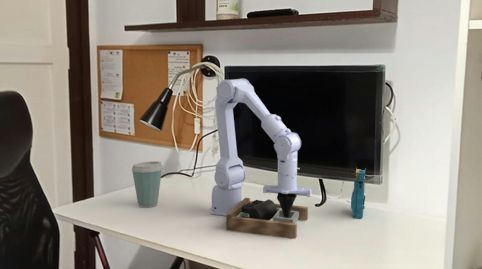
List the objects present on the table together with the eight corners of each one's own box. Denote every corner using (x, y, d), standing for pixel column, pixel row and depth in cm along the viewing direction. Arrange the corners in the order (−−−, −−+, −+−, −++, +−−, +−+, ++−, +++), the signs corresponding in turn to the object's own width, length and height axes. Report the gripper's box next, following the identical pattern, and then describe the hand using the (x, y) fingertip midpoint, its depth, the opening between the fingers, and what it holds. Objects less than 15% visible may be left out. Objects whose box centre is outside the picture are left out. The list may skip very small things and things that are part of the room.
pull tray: (234, 227, 152) (234, 216, 152) (249, 213, 166) (249, 203, 165) (290, 234, 147) (290, 223, 146) (300, 219, 160) (301, 208, 160)
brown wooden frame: (226, 230, 151) (226, 214, 150) (245, 212, 168) (245, 197, 167) (295, 238, 145) (295, 221, 144) (307, 218, 161) (308, 203, 161)
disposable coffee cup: (127, 208, 172) (126, 165, 169) (139, 199, 182) (137, 158, 180) (158, 210, 170) (156, 166, 168) (167, 201, 181) (166, 159, 178)
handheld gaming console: (363, 219, 161) (365, 173, 159) (350, 218, 162) (352, 172, 160) (364, 210, 170) (366, 166, 168) (352, 209, 171) (353, 165, 169)
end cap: (260, 230, 151) (260, 208, 150) (240, 226, 155) (240, 204, 154) (277, 221, 160) (277, 200, 158) (258, 217, 163) (258, 197, 162)
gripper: (260, 174, 150) (260, 218, 153) (308, 178, 146) (307, 224, 148) (266, 169, 157) (266, 211, 159) (313, 173, 152) (312, 216, 155)
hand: (286, 217), depth 154 cm, fingers closed
